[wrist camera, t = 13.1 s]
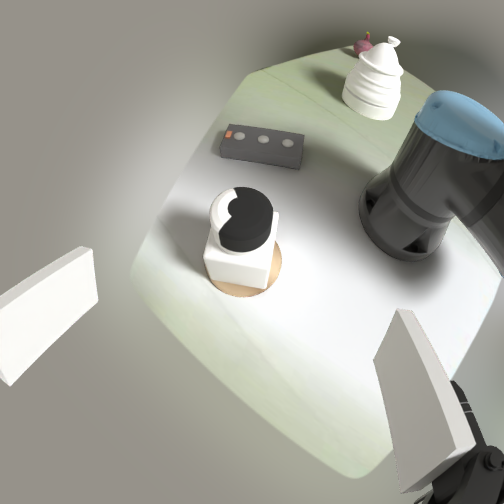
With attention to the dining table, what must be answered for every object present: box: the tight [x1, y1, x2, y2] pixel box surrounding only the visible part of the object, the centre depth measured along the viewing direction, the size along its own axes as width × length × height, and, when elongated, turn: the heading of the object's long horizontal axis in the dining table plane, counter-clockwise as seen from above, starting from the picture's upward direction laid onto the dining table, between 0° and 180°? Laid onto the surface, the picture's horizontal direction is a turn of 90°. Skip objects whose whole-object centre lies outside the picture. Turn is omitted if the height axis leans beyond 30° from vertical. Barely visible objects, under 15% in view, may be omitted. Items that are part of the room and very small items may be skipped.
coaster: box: [205, 241, 282, 297], centre depth 37 cm, size 10×10×1 cm
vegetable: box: [354, 32, 373, 56], centre depth 61 cm, size 6×6×10 cm
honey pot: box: [342, 36, 403, 120], centre depth 46 cm, size 13×13×18 cm
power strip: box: [220, 124, 304, 170], centre depth 44 cm, size 13×6×3 cm, turn 79°
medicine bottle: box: [203, 187, 279, 289], centre depth 31 cm, size 7×7×12 cm
